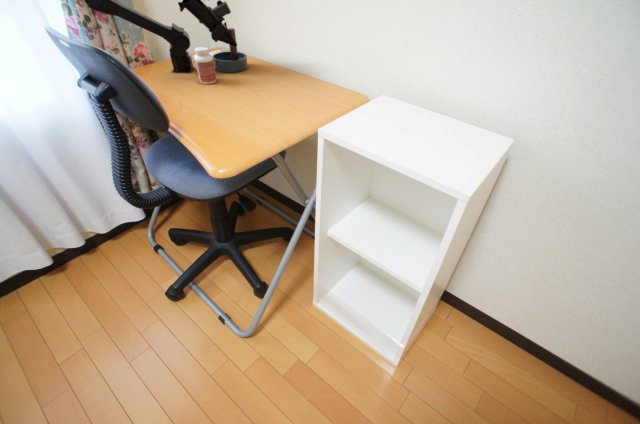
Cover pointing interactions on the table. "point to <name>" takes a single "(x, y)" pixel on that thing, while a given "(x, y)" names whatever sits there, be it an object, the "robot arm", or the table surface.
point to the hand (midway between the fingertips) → (236, 44)
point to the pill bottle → (204, 65)
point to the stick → (232, 48)
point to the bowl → (229, 62)
